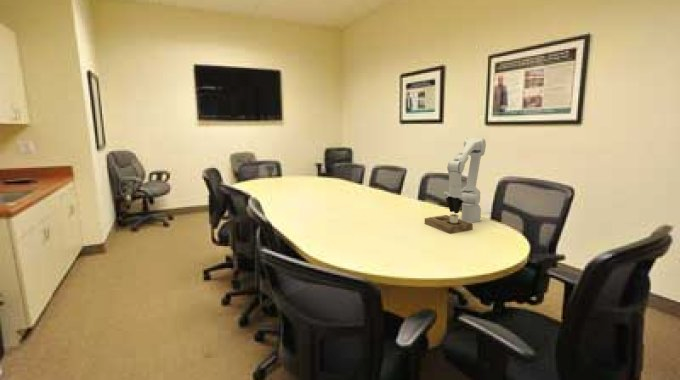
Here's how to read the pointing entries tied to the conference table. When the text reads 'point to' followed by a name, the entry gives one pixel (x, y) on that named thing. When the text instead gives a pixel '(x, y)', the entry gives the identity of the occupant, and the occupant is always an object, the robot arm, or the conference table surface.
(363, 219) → the conference table surface
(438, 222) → the jig plate
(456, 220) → the battery
